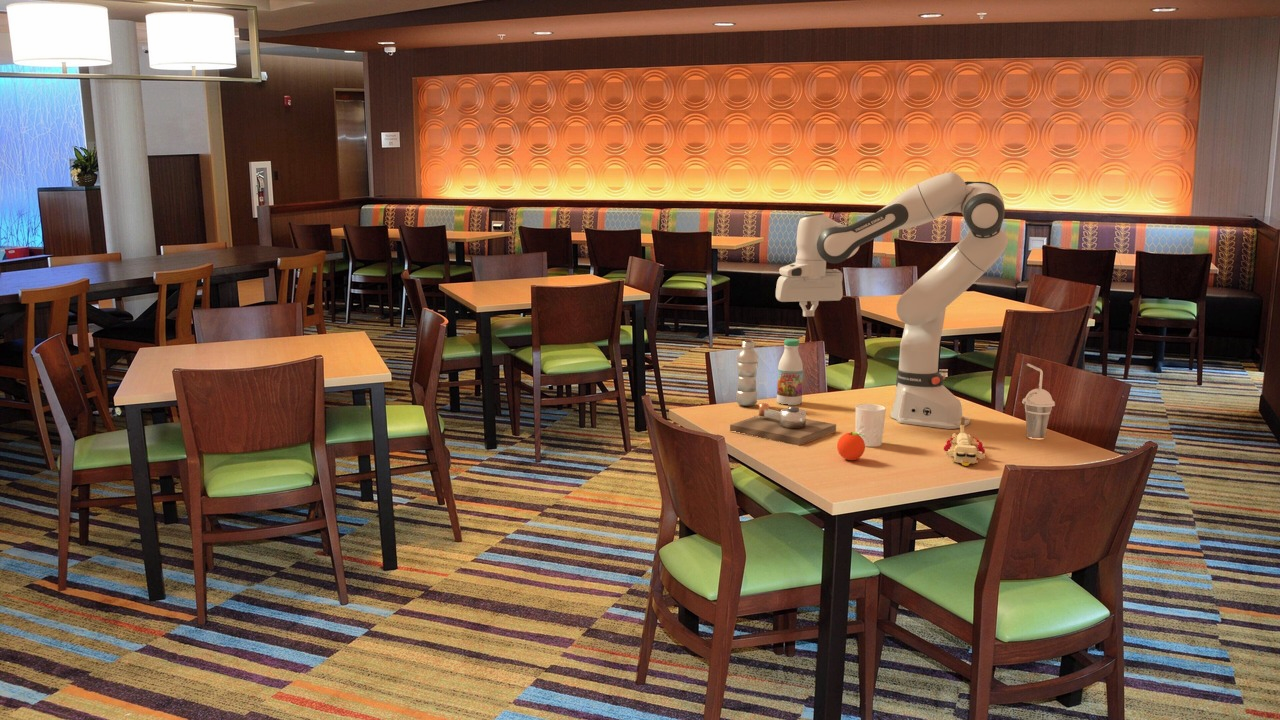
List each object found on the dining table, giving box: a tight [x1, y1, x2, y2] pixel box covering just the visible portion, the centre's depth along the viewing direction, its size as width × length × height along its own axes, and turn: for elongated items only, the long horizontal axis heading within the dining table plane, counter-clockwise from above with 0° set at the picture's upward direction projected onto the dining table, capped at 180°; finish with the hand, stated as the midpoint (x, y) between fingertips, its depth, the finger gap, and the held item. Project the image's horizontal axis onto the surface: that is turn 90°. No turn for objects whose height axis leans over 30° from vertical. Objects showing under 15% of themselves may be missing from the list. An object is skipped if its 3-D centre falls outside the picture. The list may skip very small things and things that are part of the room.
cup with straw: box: [1021, 363, 1056, 439], centre depth 286 cm, size 8×9×20 cm
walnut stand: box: [729, 414, 837, 446], centre depth 291 cm, size 22×20×2 cm
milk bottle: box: [776, 338, 804, 406], centre depth 325 cm, size 8×8×20 cm
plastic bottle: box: [735, 340, 759, 407], centre depth 320 cm, size 6×7×20 cm
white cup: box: [854, 403, 887, 448], centre depth 279 cm, size 8×8×10 cm
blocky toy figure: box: [943, 416, 986, 467], centre depth 270 cm, size 10×9×25 cm
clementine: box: [836, 432, 869, 461], centre depth 264 cm, size 8×7×7 cm
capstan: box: [758, 402, 807, 428], centre depth 292 cm, size 16×7×5 cm, turn 41°
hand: (808, 316), depth 309 cm, fingers closed
